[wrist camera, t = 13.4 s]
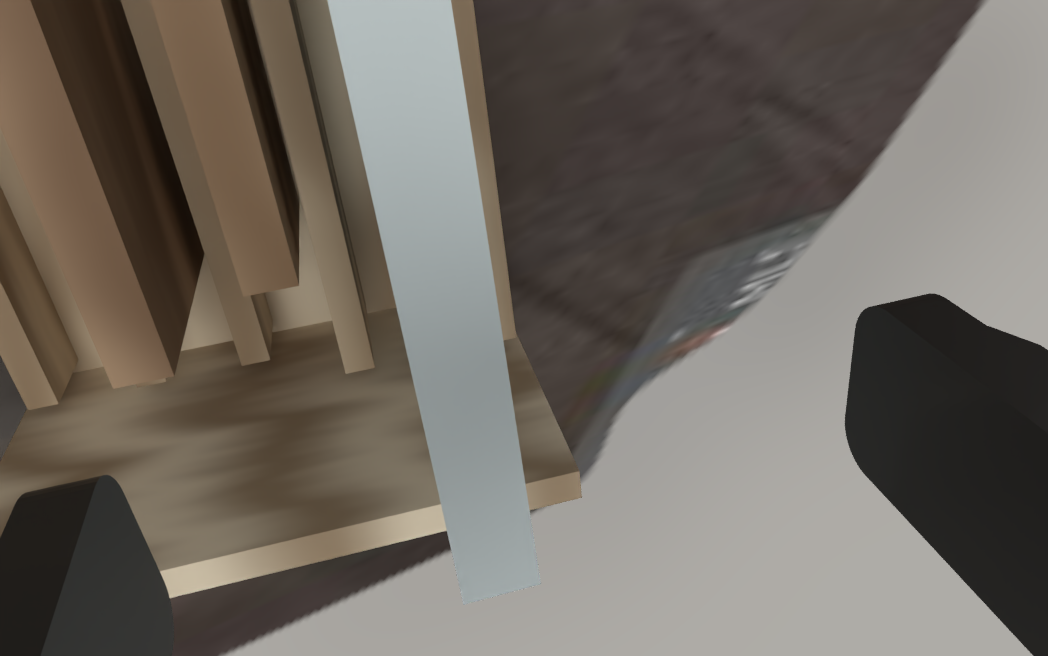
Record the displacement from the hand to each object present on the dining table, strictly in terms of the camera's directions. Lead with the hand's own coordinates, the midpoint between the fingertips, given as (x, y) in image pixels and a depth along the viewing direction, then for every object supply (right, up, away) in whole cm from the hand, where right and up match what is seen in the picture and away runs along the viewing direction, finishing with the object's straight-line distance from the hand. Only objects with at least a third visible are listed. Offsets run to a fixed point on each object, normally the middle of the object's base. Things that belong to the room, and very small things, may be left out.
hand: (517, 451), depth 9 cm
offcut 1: (-13, +9, +18) cm, 24 cm away
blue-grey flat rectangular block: (-5, +11, +19) cm, 23 cm away
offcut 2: (-9, +10, +19) cm, 23 cm away
